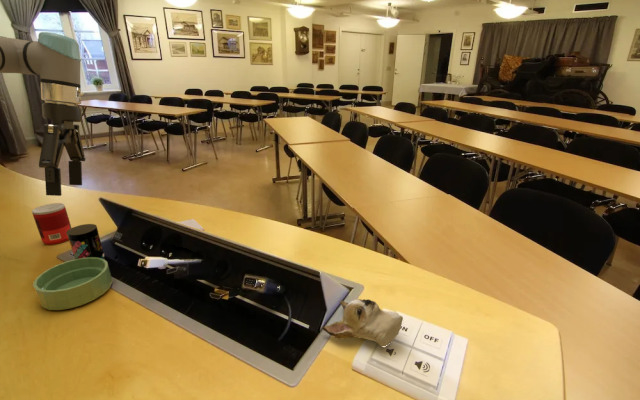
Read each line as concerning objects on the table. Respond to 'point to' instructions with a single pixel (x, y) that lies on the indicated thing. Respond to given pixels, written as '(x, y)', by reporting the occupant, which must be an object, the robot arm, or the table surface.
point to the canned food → (52, 223)
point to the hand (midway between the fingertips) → (65, 189)
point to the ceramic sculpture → (366, 322)
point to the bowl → (73, 283)
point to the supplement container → (85, 241)
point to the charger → (192, 224)
